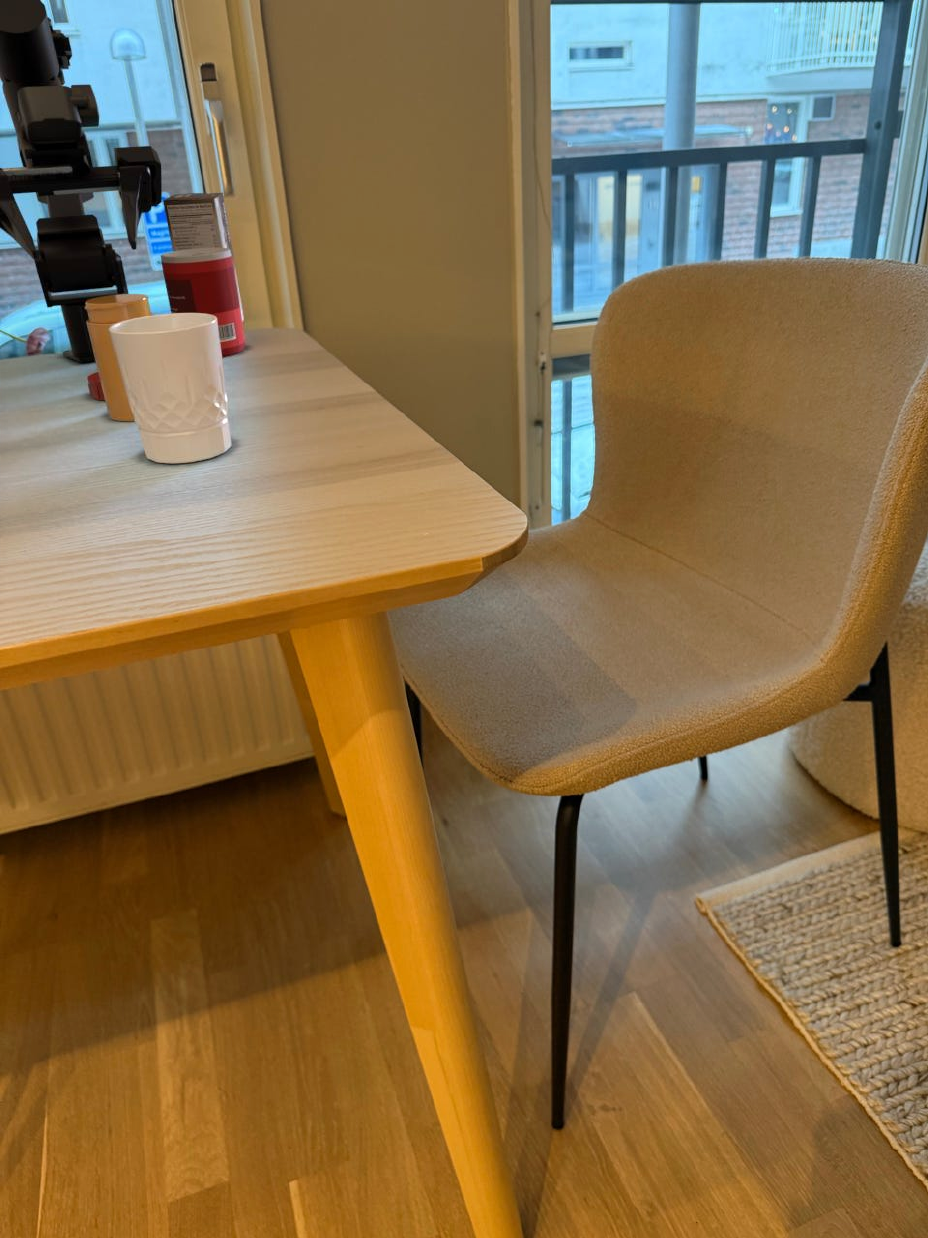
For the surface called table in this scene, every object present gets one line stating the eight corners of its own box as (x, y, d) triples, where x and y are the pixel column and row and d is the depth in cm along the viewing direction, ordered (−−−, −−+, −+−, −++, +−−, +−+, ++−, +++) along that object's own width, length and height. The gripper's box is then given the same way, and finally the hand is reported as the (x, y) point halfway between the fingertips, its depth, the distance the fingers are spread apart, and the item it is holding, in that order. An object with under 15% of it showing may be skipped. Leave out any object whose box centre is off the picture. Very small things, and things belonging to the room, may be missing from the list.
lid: (158, 395, 88) (154, 376, 88) (88, 403, 87) (84, 384, 86) (159, 381, 94) (155, 363, 93) (94, 388, 93) (89, 370, 92)
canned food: (255, 343, 109) (239, 246, 104) (233, 358, 102) (216, 255, 97) (194, 345, 110) (176, 248, 104) (169, 360, 103) (148, 257, 97)
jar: (99, 413, 84) (71, 300, 79) (158, 400, 87) (134, 290, 82) (123, 425, 80) (96, 306, 75) (184, 411, 83) (161, 296, 78)
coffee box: (197, 324, 122) (173, 193, 114) (245, 320, 123) (224, 190, 115) (187, 337, 114) (160, 198, 107) (238, 333, 115) (215, 195, 107)
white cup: (257, 438, 74) (236, 313, 69) (203, 470, 68) (176, 334, 63) (176, 433, 77) (151, 311, 72) (117, 463, 70) (85, 331, 65)
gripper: (-79, 54, 80) (-38, 196, 76) (136, 51, 87) (183, 180, 83) (-51, 154, 90) (-13, 283, 86) (140, 143, 97) (182, 262, 93)
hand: (85, 251), depth 87 cm, fingers open, 9 cm apart
